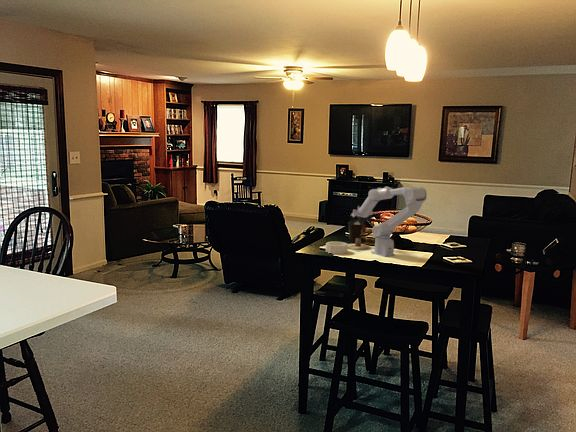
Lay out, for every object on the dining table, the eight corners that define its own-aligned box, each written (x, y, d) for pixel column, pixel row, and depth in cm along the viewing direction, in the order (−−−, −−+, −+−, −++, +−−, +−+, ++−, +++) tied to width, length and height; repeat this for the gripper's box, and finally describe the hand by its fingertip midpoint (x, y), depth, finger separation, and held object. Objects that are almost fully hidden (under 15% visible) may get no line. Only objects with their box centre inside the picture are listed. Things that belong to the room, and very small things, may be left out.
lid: (374, 248, 268) (375, 239, 267) (358, 251, 260) (358, 242, 259) (357, 243, 278) (358, 235, 277) (341, 246, 270) (341, 238, 270)
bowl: (351, 252, 257) (351, 244, 256) (335, 255, 250) (336, 246, 250) (336, 248, 266) (337, 240, 265) (321, 251, 259) (321, 243, 258)
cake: (366, 235, 306) (368, 206, 303) (352, 235, 305) (353, 206, 302) (361, 232, 317) (363, 204, 314) (347, 232, 315) (348, 204, 313)
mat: (377, 248, 268) (377, 248, 268) (358, 252, 259) (358, 251, 259) (357, 243, 280) (357, 243, 280) (338, 247, 270) (338, 246, 270)
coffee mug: (357, 242, 285) (358, 225, 283) (344, 240, 290) (345, 223, 289) (367, 239, 294) (368, 222, 293) (354, 237, 299) (355, 221, 298)
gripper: (372, 200, 268) (360, 217, 276) (353, 202, 259) (341, 219, 267) (380, 209, 264) (367, 226, 272) (361, 211, 255) (348, 229, 263)
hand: (355, 224), depth 269 cm, fingers open, 7 cm apart
